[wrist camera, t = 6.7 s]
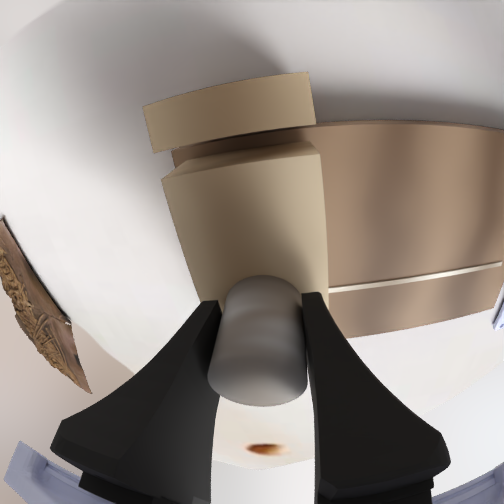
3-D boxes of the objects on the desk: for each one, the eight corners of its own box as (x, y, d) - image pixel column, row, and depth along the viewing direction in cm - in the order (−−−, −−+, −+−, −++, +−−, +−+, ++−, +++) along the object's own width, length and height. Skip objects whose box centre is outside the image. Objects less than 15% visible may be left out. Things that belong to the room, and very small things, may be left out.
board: (509, 130, 10) (530, 138, 8) (481, 291, 15) (493, 308, 14) (185, 143, 13) (170, 151, 11) (234, 325, 19) (230, 348, 17)
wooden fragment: (-21, 212, 16) (-28, 217, 15) (41, 216, 16) (32, 223, 15) (55, 376, 30) (52, 381, 29) (116, 399, 29) (114, 406, 29)
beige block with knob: (297, 82, 10) (330, 49, 3) (319, 296, 16) (334, 423, 9) (173, 106, 11) (49, 130, 4) (226, 304, 17) (197, 425, 10)
